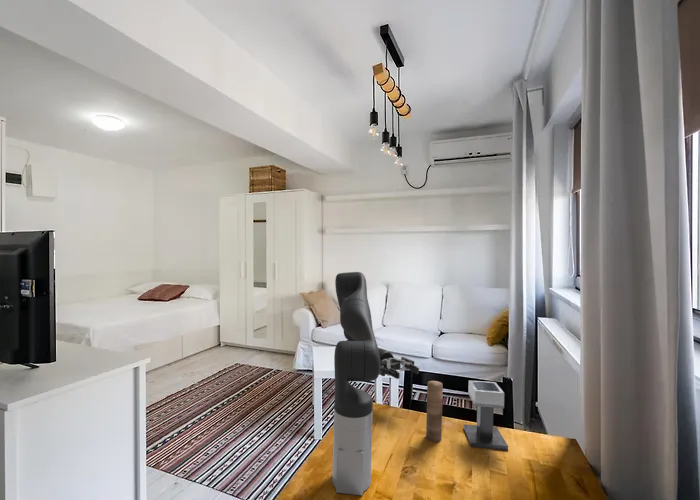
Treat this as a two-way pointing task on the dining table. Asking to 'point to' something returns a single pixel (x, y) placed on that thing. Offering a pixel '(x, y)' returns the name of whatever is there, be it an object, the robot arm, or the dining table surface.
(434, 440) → the walnut rail post
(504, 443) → the stand
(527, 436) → the dining table surface
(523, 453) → the dining table surface
